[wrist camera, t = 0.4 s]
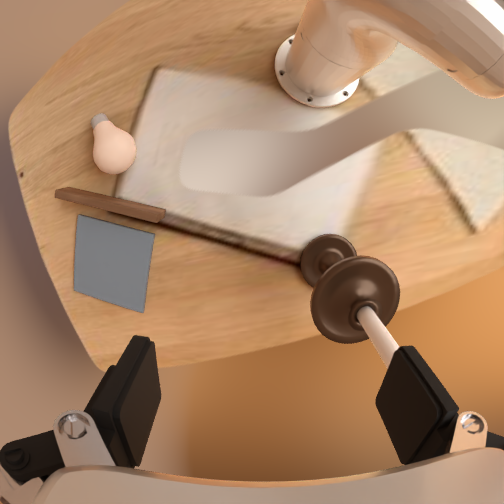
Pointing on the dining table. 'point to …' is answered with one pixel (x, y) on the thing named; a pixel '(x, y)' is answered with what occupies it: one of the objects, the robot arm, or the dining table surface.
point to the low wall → (111, 204)
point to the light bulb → (111, 146)
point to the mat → (112, 262)
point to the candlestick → (350, 294)
